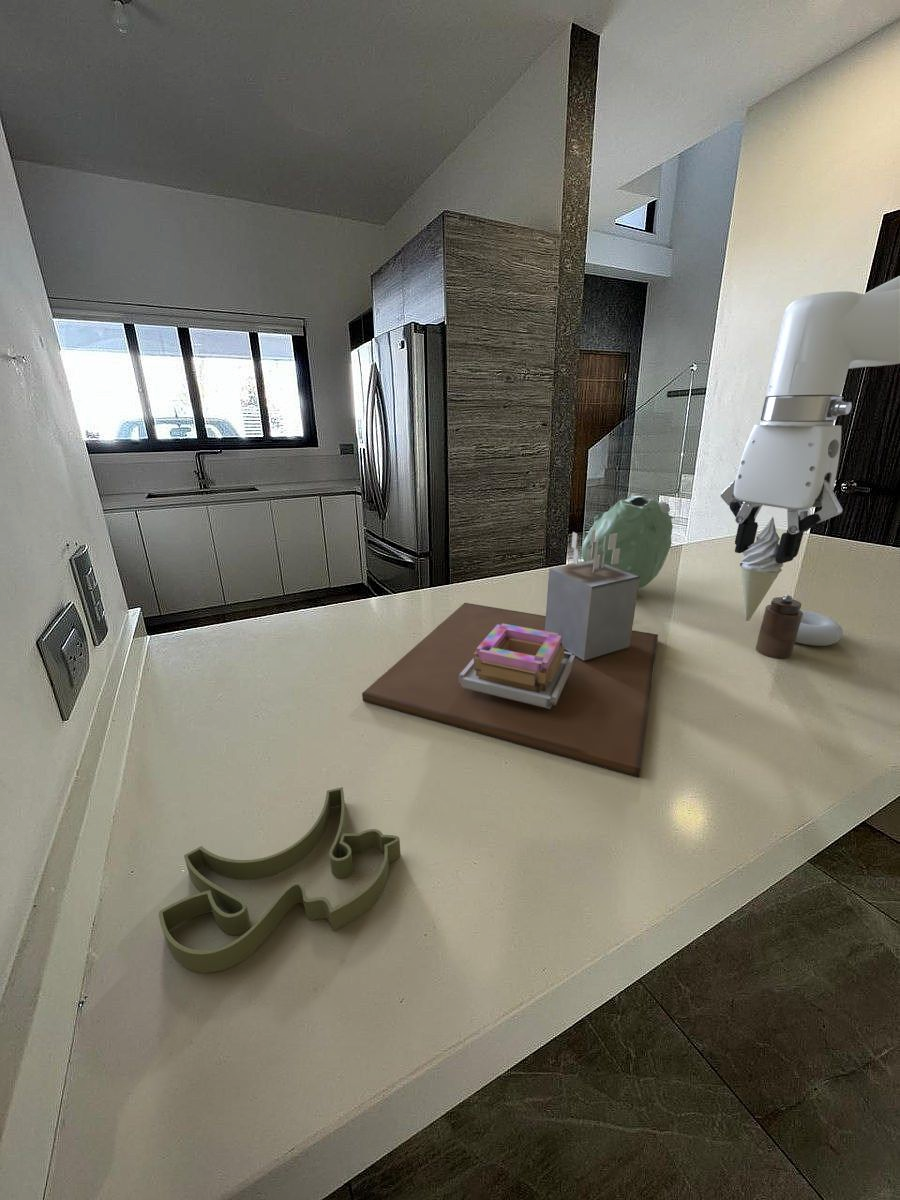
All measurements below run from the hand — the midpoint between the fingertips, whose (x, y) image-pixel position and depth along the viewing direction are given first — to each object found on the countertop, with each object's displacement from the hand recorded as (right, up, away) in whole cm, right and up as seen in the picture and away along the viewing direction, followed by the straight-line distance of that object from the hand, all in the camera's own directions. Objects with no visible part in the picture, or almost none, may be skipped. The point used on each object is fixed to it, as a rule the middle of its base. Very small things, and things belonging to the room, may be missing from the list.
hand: (763, 554), depth 65 cm
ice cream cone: (0, -9, +4) cm, 10 cm away
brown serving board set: (-31, -17, +7) cm, 36 cm away
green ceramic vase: (-6, -4, +38) cm, 38 cm away
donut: (+17, -12, +16) cm, 27 cm away
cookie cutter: (-56, -30, -25) cm, 68 cm away
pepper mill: (+9, -14, +11) cm, 20 cm away
